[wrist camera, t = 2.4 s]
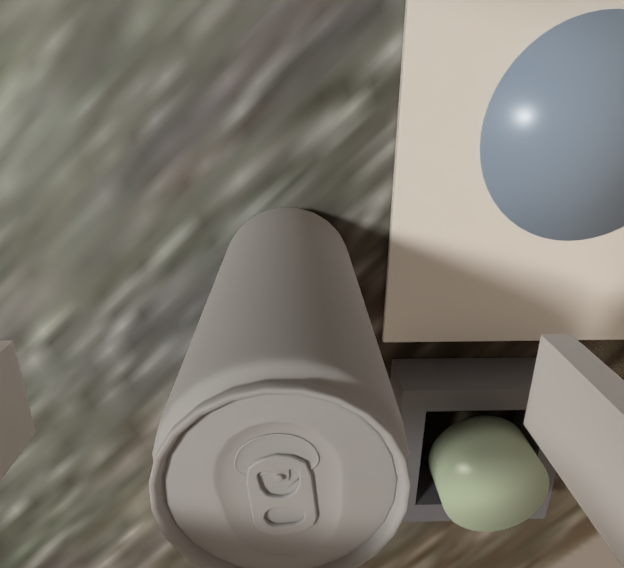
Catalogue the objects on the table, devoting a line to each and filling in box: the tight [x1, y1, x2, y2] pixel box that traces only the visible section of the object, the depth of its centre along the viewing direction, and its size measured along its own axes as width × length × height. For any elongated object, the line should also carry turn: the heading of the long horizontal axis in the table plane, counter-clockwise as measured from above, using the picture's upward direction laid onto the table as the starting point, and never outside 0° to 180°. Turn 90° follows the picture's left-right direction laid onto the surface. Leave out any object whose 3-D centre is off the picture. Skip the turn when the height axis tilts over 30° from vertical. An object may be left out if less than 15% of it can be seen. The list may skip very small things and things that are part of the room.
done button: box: [428, 415, 549, 532], centre depth 20 cm, size 4×4×2 cm
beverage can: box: [149, 207, 411, 568], centre depth 14 cm, size 5×5×12 cm
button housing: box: [390, 357, 557, 522], centre depth 22 cm, size 7×7×2 cm
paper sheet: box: [382, 0, 624, 342], centre depth 18 cm, size 17×14×1 cm
